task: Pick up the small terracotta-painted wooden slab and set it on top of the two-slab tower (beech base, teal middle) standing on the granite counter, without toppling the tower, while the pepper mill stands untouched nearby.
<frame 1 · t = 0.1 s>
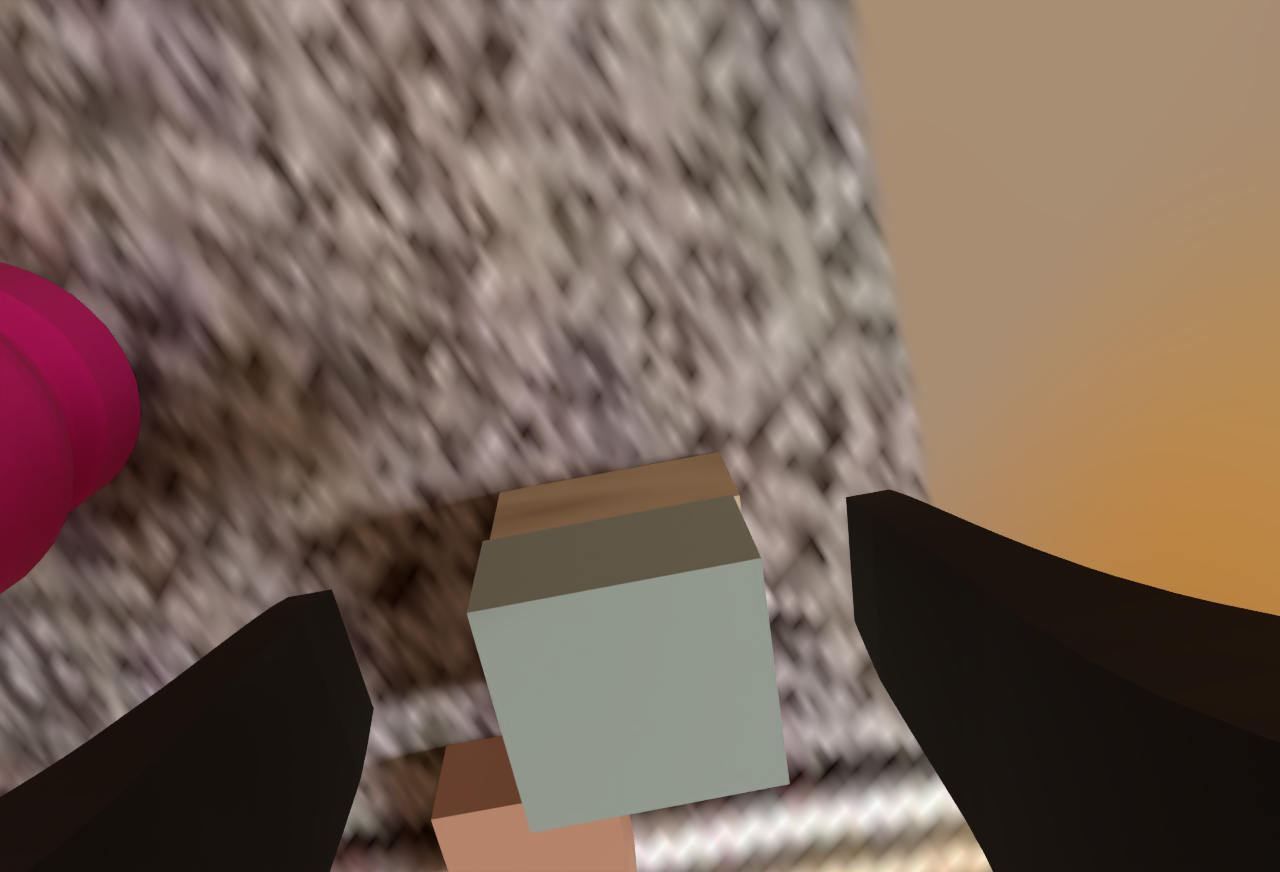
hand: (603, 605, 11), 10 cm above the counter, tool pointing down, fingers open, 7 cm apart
base block: (628, 562, 22), on the counter, touching middle block
pepper mill: (12, 385, 19), on the counter
middle block: (629, 623, 20), point 3 cm above the counter, touching base block
terracotta block: (543, 787, 25), on the counter
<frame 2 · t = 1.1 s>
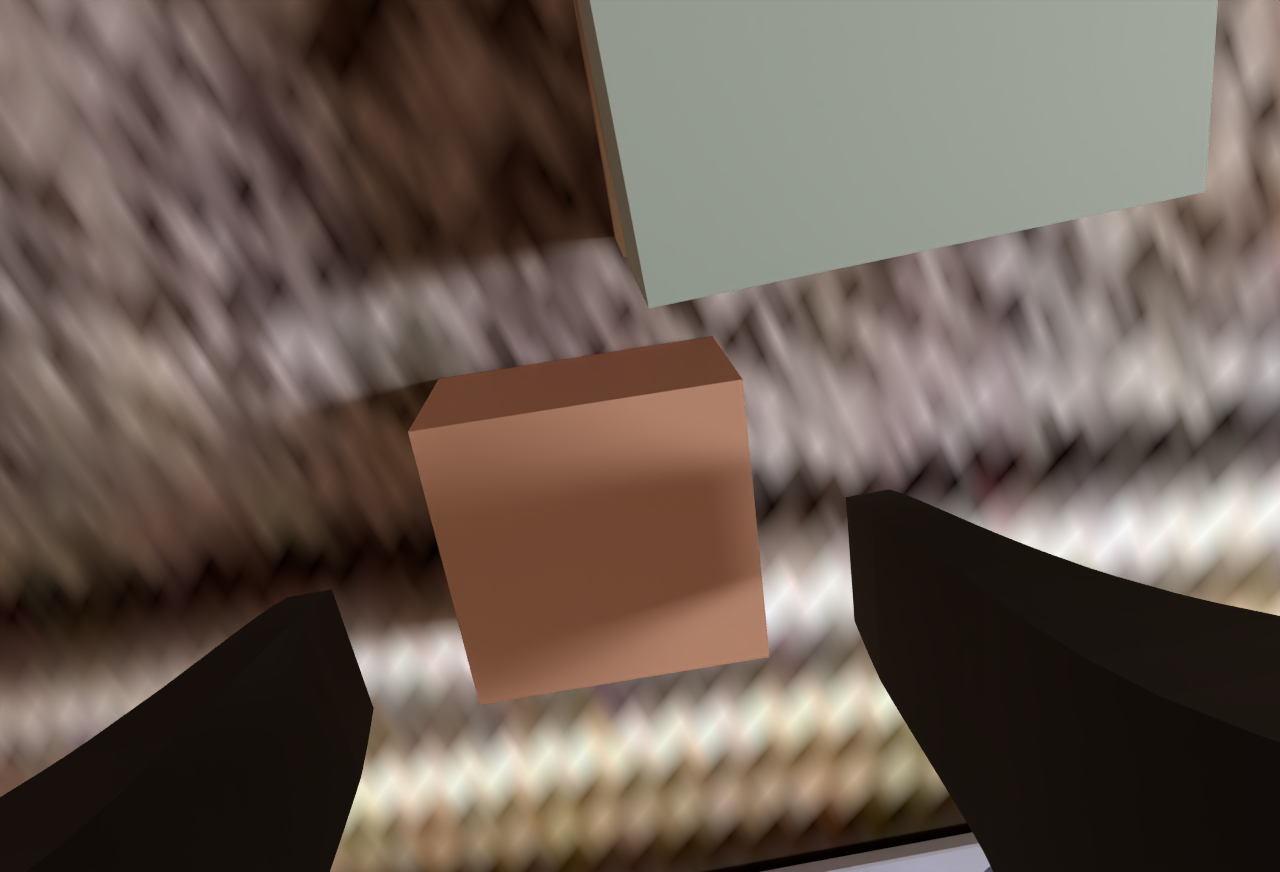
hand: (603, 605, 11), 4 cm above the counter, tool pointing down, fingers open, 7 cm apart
base block: (762, 15, 13), on the counter, touching middle block
terracotta block: (597, 477, 15), on the counter
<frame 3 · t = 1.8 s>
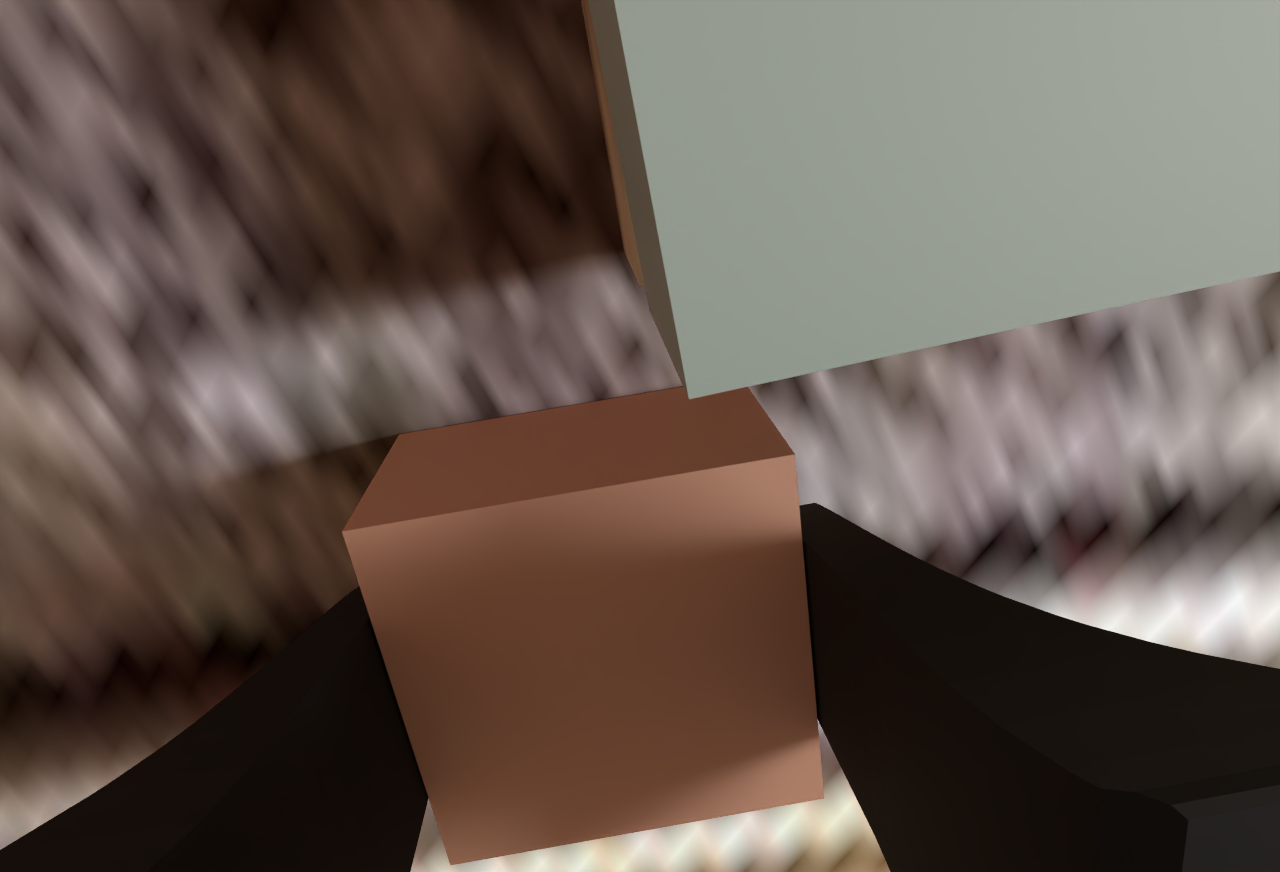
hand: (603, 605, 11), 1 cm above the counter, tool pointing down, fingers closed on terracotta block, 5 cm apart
terracotta block: (599, 555, 12), on the counter, touching gripper
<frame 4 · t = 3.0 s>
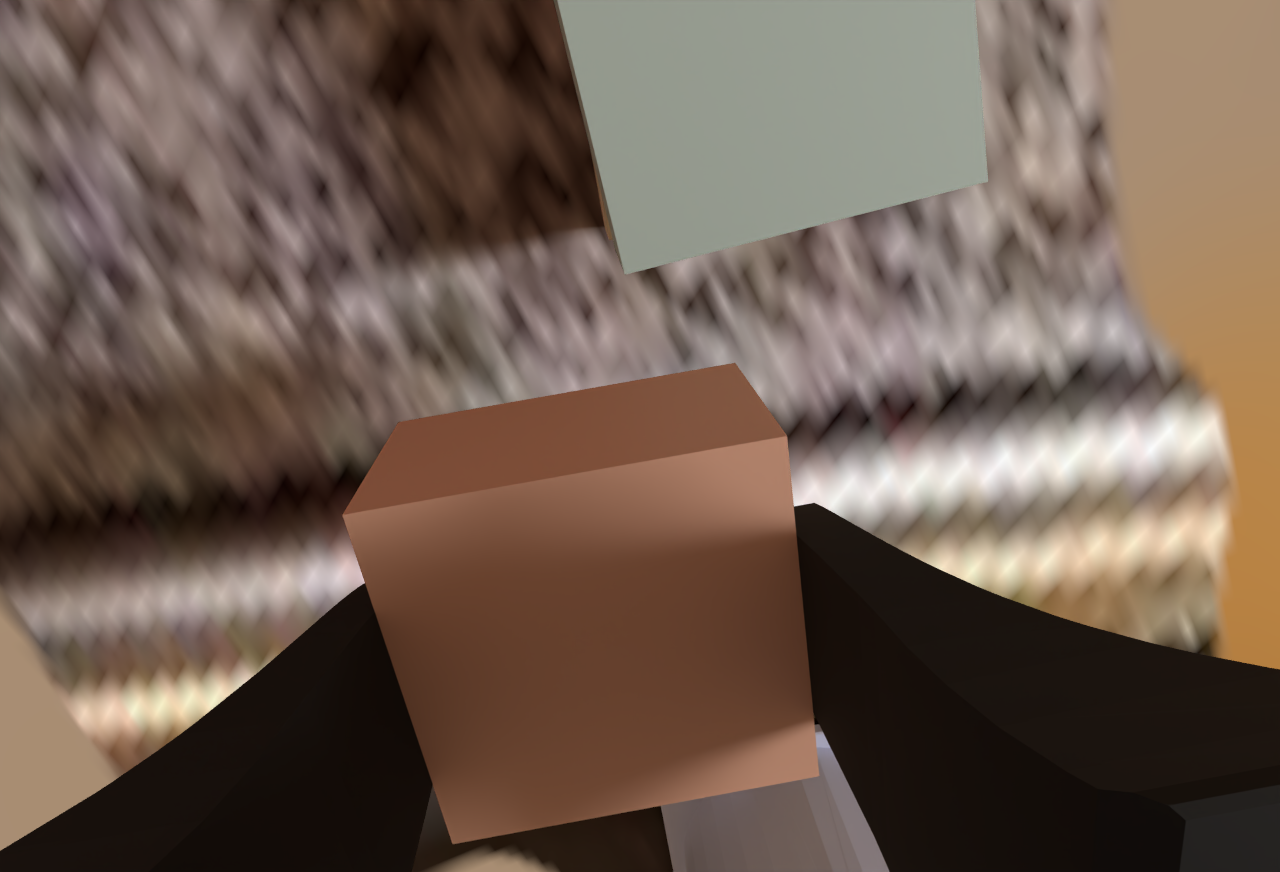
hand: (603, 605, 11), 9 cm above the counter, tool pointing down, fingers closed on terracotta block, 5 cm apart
middle block: (734, 46, 14), point 3 cm above the counter, touching base block
terracotta block: (597, 540, 12), point 7 cm above the counter, touching gripper
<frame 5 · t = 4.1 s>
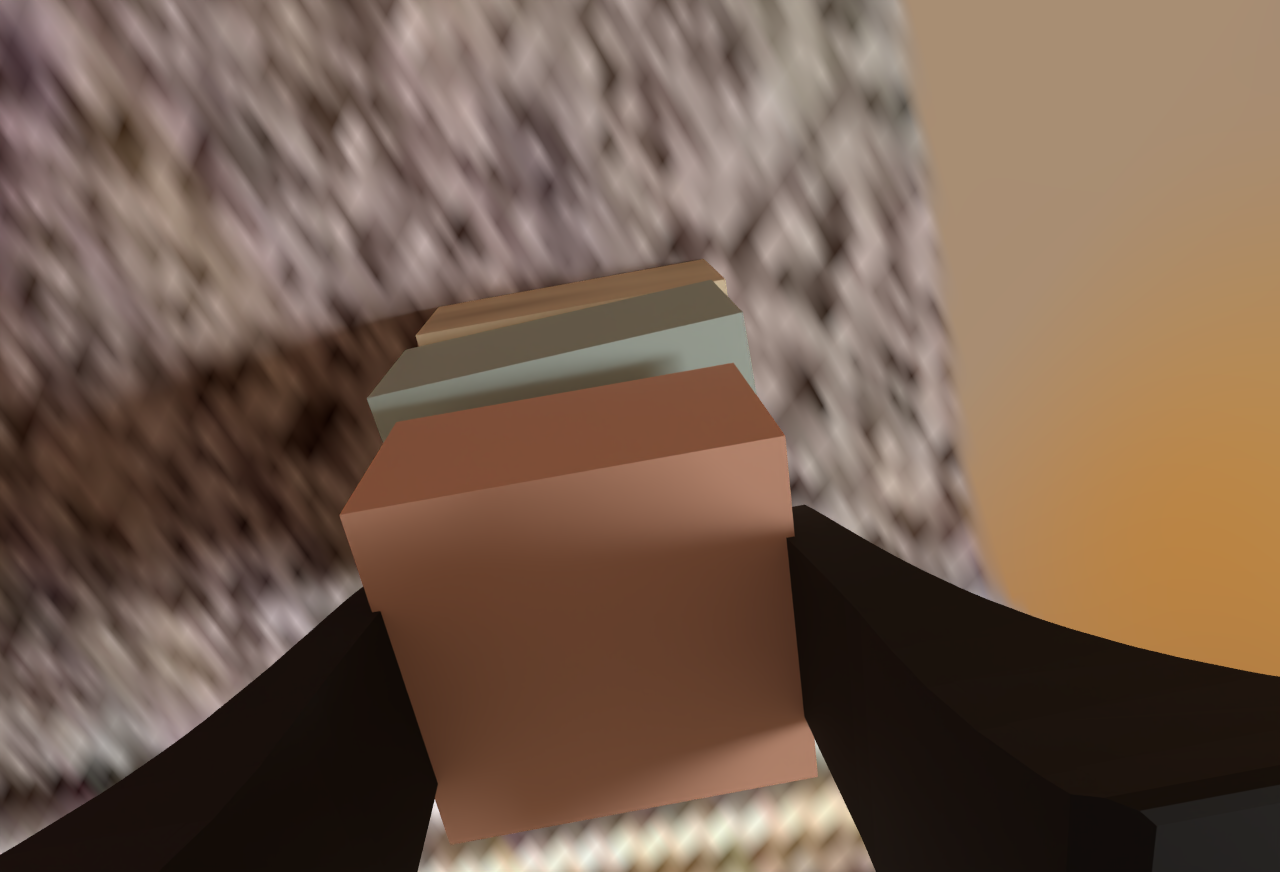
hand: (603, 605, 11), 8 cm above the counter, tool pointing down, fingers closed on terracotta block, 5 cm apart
base block: (595, 404, 19), on the counter, touching middle block
middle block: (594, 455, 16), point 3 cm above the counter, touching base block
terracotta block: (595, 540, 12), point 7 cm above the counter, touching gripper
when the fingers open (8 cm above the counter, at t = 4.4 s): terracotta block stays where it is, resting on middle block.
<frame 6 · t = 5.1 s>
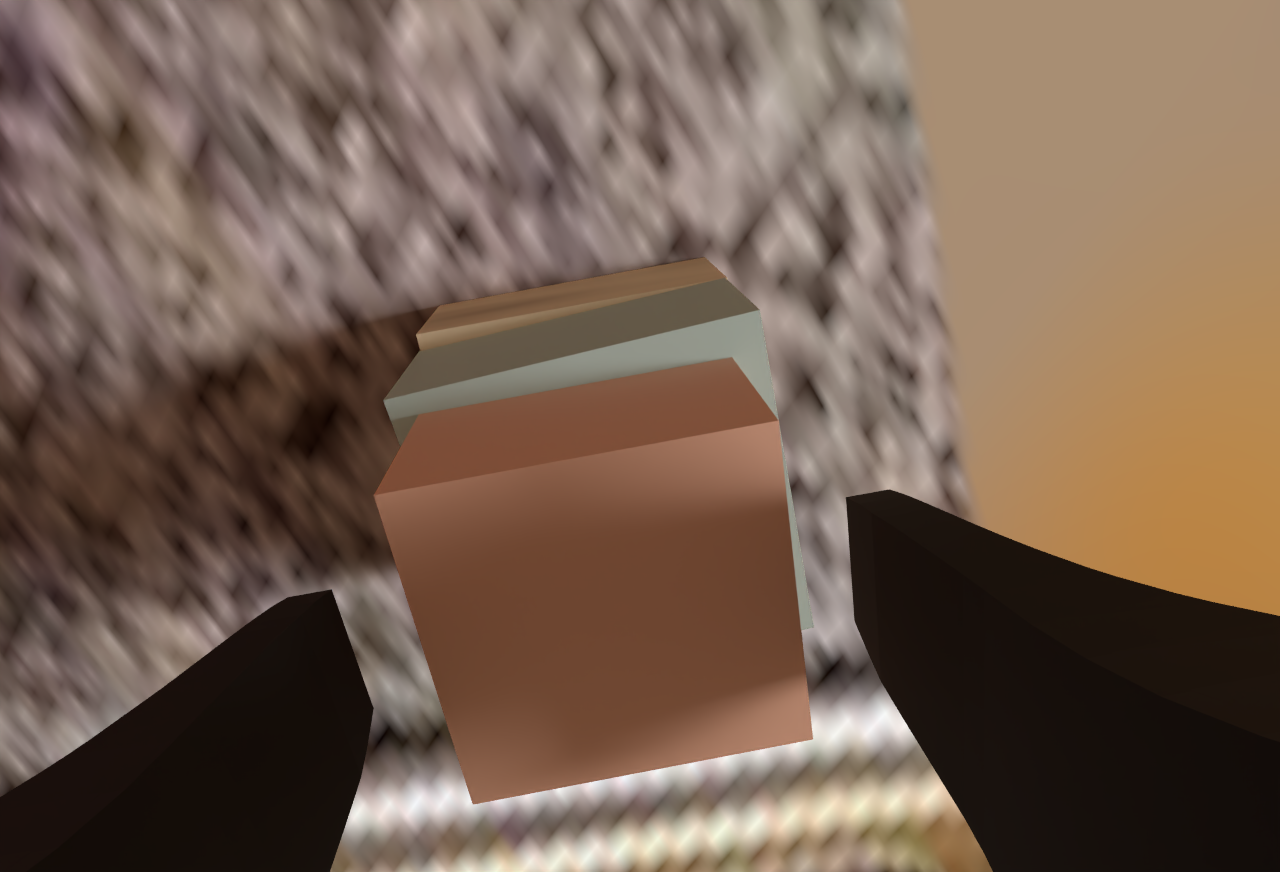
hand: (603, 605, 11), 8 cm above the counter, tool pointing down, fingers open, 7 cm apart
base block: (596, 403, 19), on the counter, touching middle block
middle block: (608, 455, 16), point 3 cm above the counter, touching base block, terracotta block
terracotta block: (604, 525, 13), point 6 cm above the counter, touching middle block
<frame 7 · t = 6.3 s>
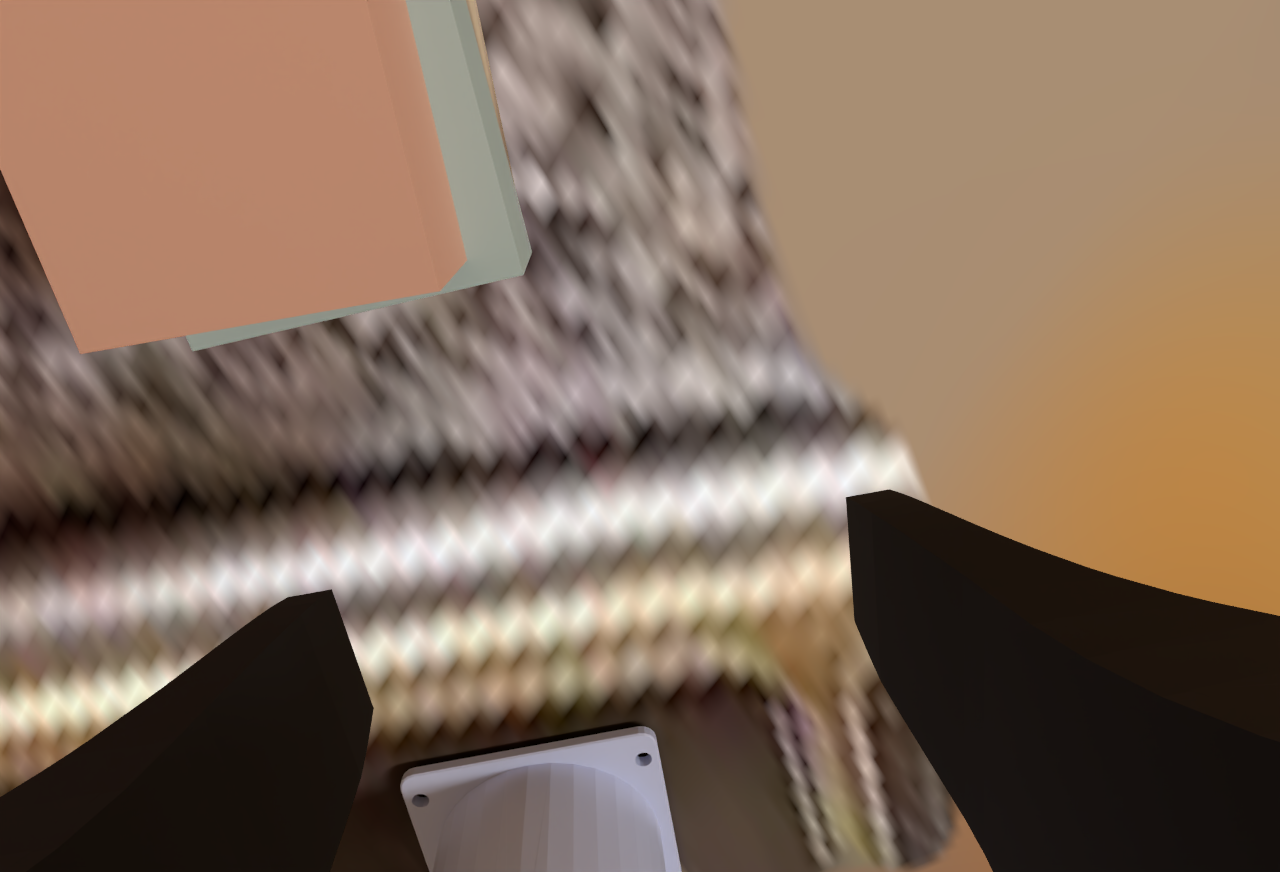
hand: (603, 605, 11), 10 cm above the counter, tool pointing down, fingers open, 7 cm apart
base block: (371, 128, 18), on the counter, touching middle block
middle block: (345, 135, 16), point 3 cm above the counter, touching base block
terracotta block: (278, 132, 13), point 6 cm above the counter
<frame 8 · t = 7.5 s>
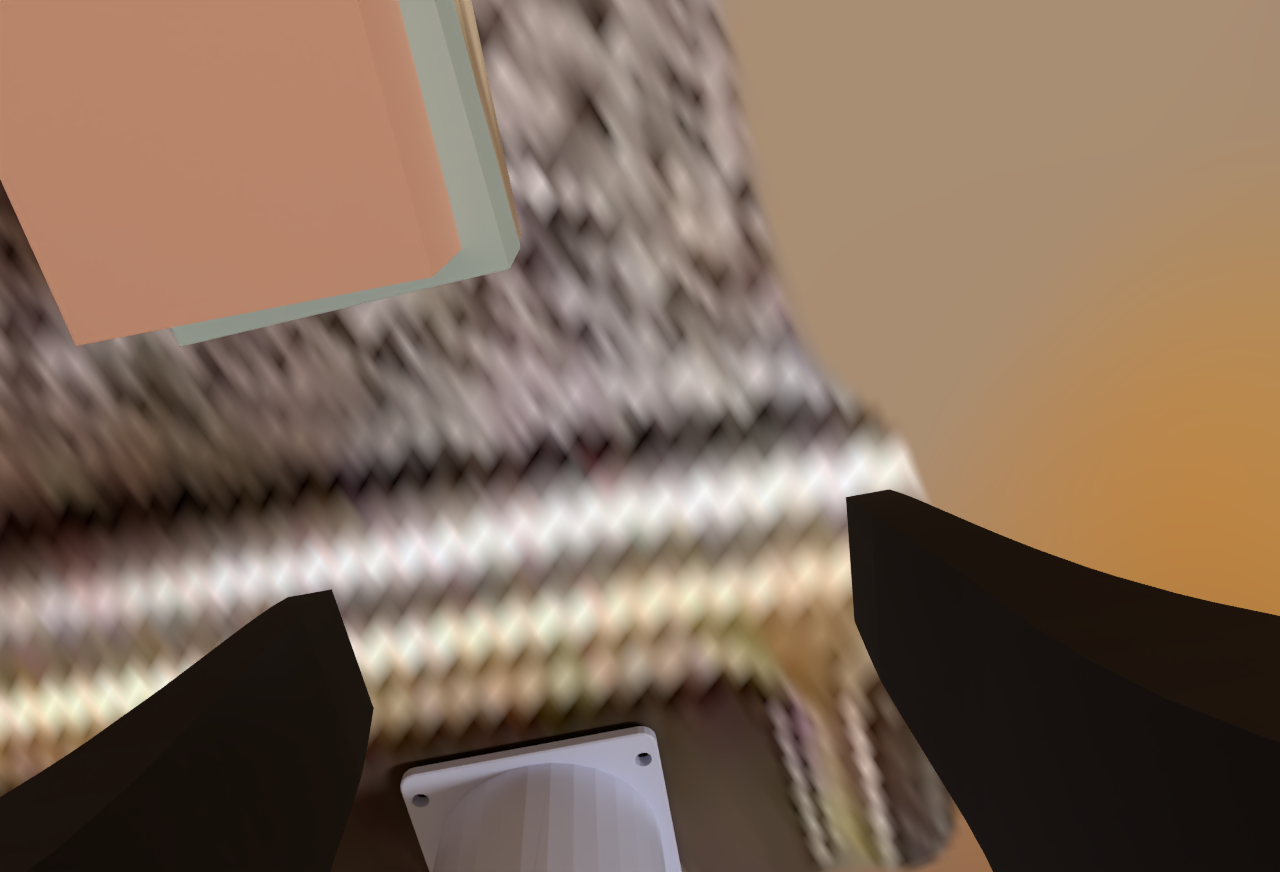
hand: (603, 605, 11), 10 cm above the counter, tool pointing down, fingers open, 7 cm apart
base block: (367, 126, 18), on the counter, touching middle block
middle block: (332, 131, 16), point 3 cm above the counter, touching base block, terracotta block
terracotta block: (270, 123, 13), point 6 cm above the counter, touching middle block
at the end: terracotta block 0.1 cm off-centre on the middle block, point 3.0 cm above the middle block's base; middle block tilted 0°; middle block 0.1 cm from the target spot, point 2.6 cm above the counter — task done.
